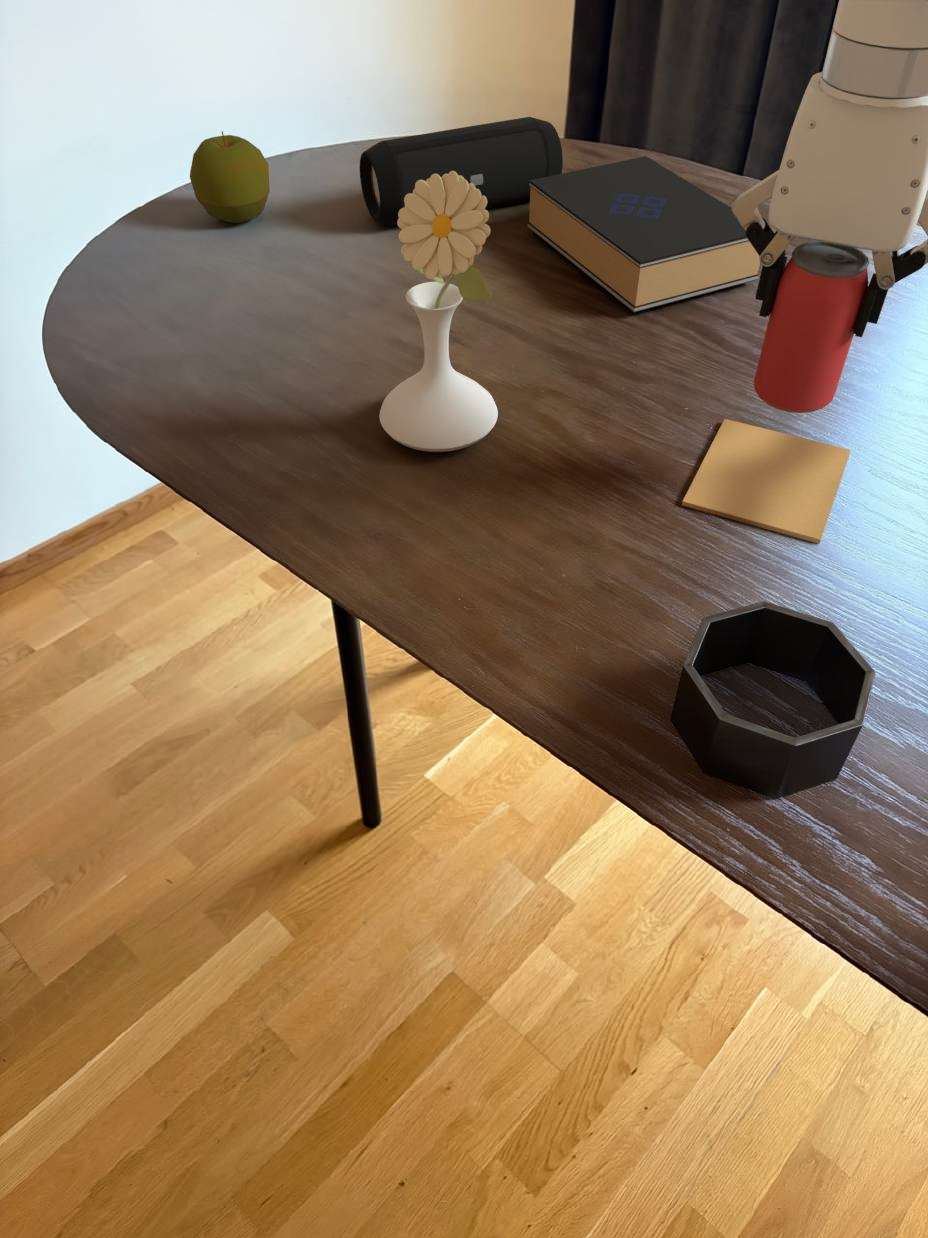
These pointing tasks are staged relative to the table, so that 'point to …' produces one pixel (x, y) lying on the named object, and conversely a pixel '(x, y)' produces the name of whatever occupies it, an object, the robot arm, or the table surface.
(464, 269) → the flower in vase
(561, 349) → the table surface
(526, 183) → the portable speaker
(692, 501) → the cork mat
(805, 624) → the black octagonal pot
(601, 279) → the book
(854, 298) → the beer can
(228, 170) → the apple
